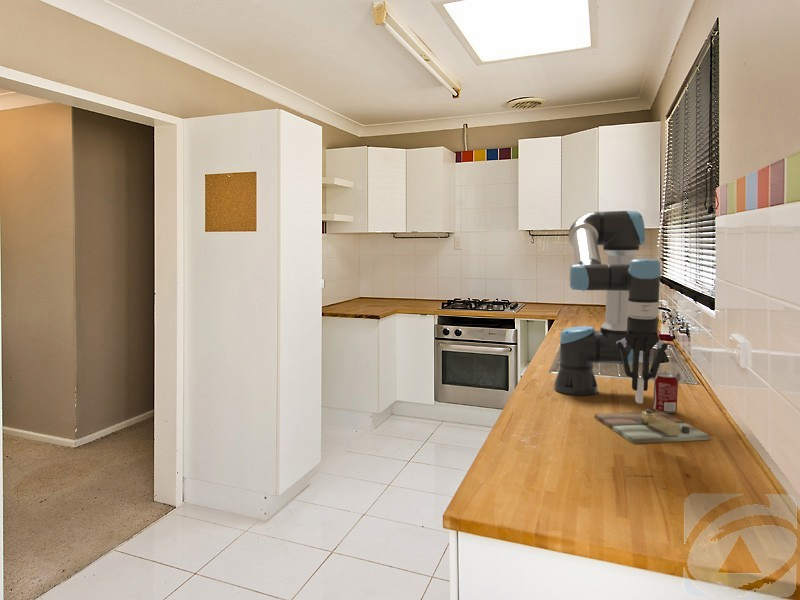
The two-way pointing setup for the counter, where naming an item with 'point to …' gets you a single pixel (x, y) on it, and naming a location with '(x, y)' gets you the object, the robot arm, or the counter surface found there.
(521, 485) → the counter surface
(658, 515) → the counter surface
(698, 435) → the latch board
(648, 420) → the swing bar
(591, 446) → the counter surface
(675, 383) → the soda can
